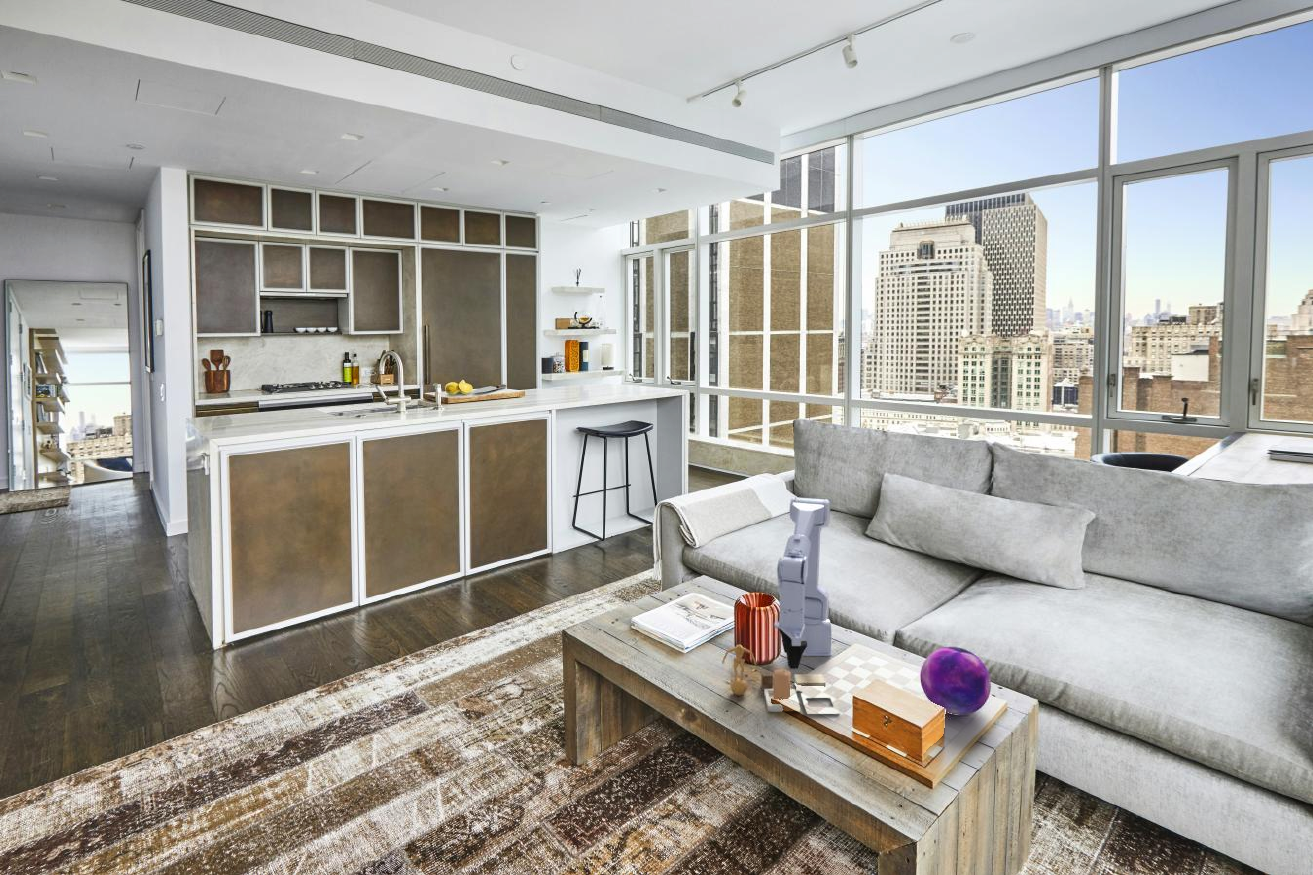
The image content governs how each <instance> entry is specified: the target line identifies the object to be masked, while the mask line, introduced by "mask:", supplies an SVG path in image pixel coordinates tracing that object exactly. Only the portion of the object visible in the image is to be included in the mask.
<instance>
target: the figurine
mask: <svg viewBox="0 0 1313 875" xmlns="http://www.w3.org/2000/svg"><path fill="white" fill-rule="evenodd" d="M732 652H734V655H735V657H736V658H734V659H733V669H734V673H735V675H734V679H733V680H732V681H731V683H730V689H731V690H730V691H731V692H732V693H733V694H734V695H736V696H742V695H744V694H746V692H747V690H748V684H747V682H746V680H744V672H745V671H744V670H745V668H746V667H745V661H746V660H745V658H743V656H744V653H748V654H750V656H751V658H752V660H753V661H754V662H753V664H754V666H757V661H756V659H755V657H754V653H753V652H752V651H751V650H749V649H747V648H745V647H743V645H742V644H736V646H734V647H732V648H730V649H728V650H726V652H725V654H724V656H723V659H722V661H721V664H722V665H724V663H725V661H726V659H727V656H728V654H729V653H732ZM739 666H740V668H741V670H740V672H741V673H740V677H738V667H739Z"/></svg>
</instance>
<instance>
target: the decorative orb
mask: <svg viewBox="0 0 1313 875" xmlns="http://www.w3.org/2000/svg"><path fill="white" fill-rule="evenodd" d="M990 676H991V675H990V673H989V671H988V668H987V667H986V664H984V662H983V661H982V660H981V659H980V658H979V657H978V656H977V655H976V654H974V653H973V652H971V651H969V650H967V649H965V648H961V647H957V646H946V647H941V648H938V649H936V650H934V651H932V652H931V653H930V654H929V655H928V656H927V657H926V659H925V660H924V661H923V664H922V666H921V670H920V684H921V688H922V690H923V693H924V695H925V697H926V698H927V699H928V700H930V701H931V702H933V703H935V704H937V705H940V706H942V707H944V708H945V709H946V712H949V713H952V714H959V715H958V716H967V715H966V714H968V715H971V714H974V713H976V712H977V711H980V709H982V707H984V705H985V704H986V703H987V702H988V699H990V698H989V697H990V694H991V690H992V683H991V682H992V681H991V677H990ZM930 701H929V702H930ZM931 702H930V703H931ZM946 712H945V713H946ZM952 714H951V715H952Z"/></svg>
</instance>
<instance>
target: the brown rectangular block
mask: <svg viewBox="0 0 1313 875" xmlns="http://www.w3.org/2000/svg"><path fill="white" fill-rule="evenodd" d="M760 685H761V689H762V692H764V689H773V672H772V670H761V684H760Z"/></svg>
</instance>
